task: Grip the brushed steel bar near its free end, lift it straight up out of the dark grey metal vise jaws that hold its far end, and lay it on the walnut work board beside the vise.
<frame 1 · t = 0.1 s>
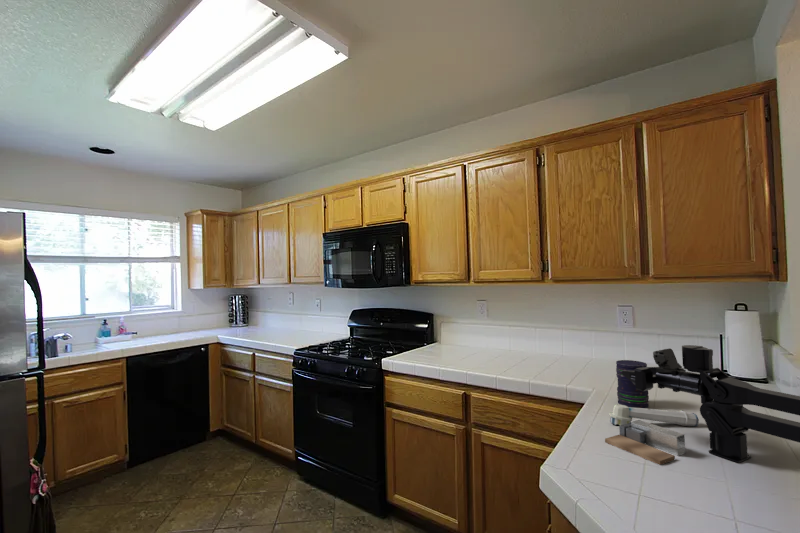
hand: (631, 370, 122), 17 cm above the worktop, tool horizontal, fingers open, 9 cm apart
work board: (638, 450, 103), on the worktop
storage jar: (633, 404, 139), on the worktop
vise: (657, 445, 105), on the worktop
toothbrush head: (652, 426, 120), on the worktop
steel bar: (657, 446, 105), resting in vise
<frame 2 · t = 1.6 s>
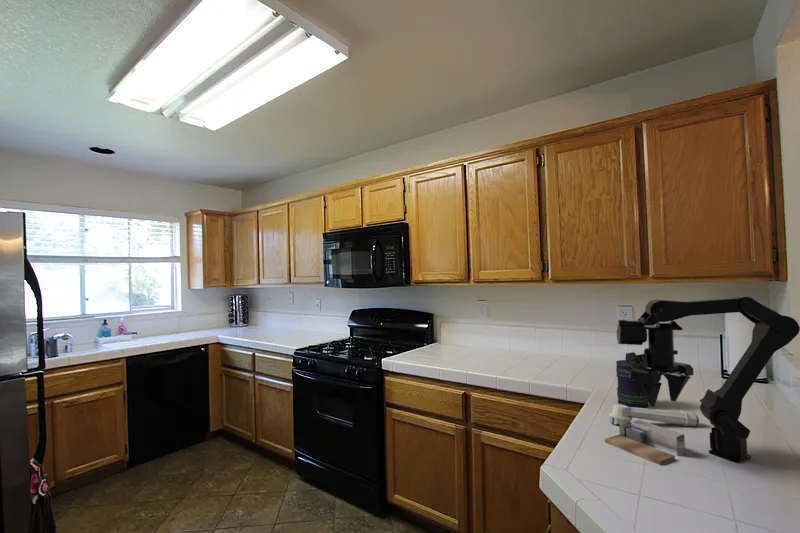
hand: (662, 403, 104), 12 cm above the worktop, tool pointing down, fingers open, 9 cm apart
nothing on the worktop moved.
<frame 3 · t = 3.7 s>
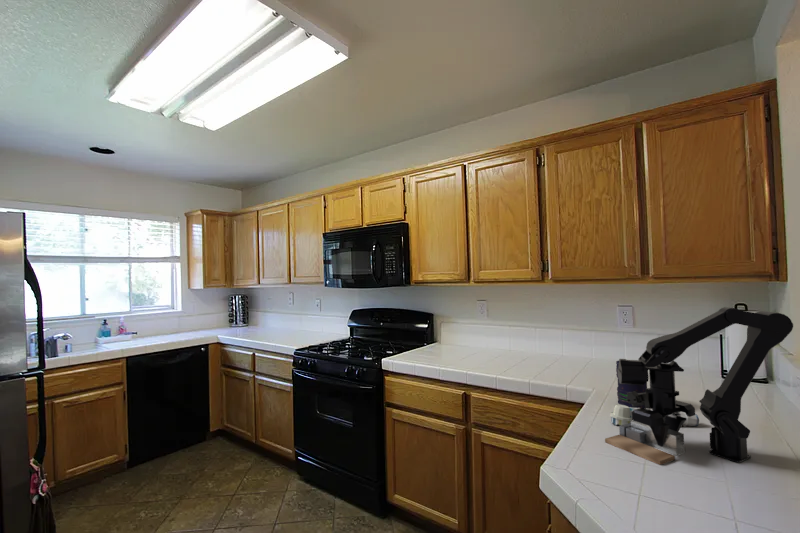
hand: (664, 444, 104), 1 cm above the worktop, tool pointing down, fingers closed on steel bar, 3 cm apart
steel bar: (656, 445, 105), resting in vise, touching gripper
everything else where it was.
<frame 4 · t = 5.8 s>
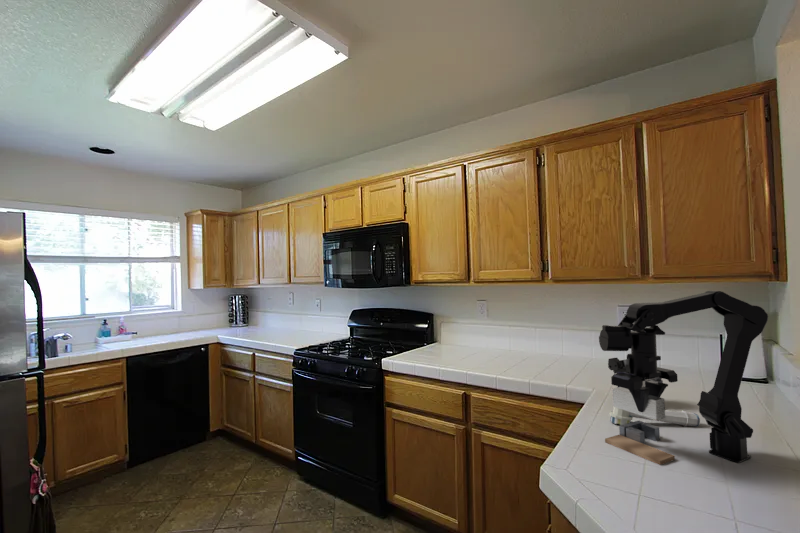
hand: (645, 410, 101), 11 cm above the worktop, tool pointing down, fingers closed on steel bar, 3 cm apart
steel bar: (637, 412, 103), point 10 cm above the worktop, touching gripper
everything else where it was.
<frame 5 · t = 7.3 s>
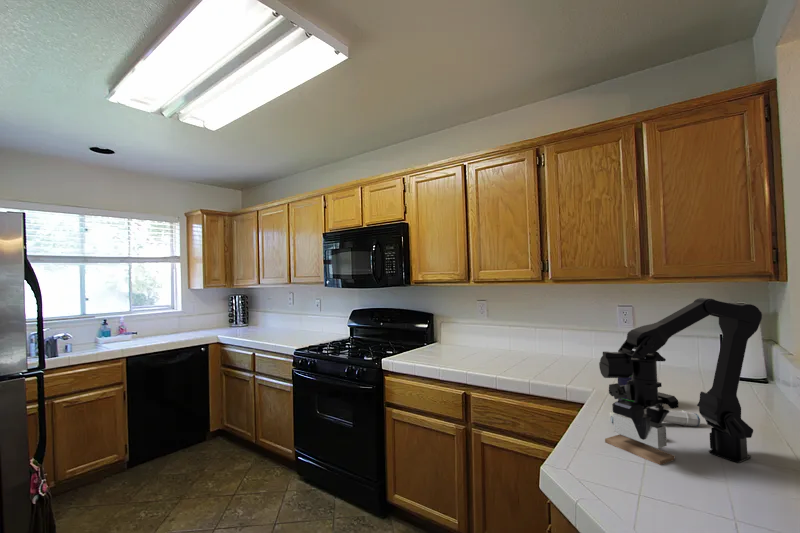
hand: (647, 437, 100), 4 cm above the worktop, tool pointing down, fingers closed on steel bar, 3 cm apart
steel bar: (639, 438, 102), point 3 cm above the worktop, touching gripper
everything else where it was.
when the fingers open (3 cm above the worktop, at t = 8.2 s): steel bar drops 1 cm, resting on work board.
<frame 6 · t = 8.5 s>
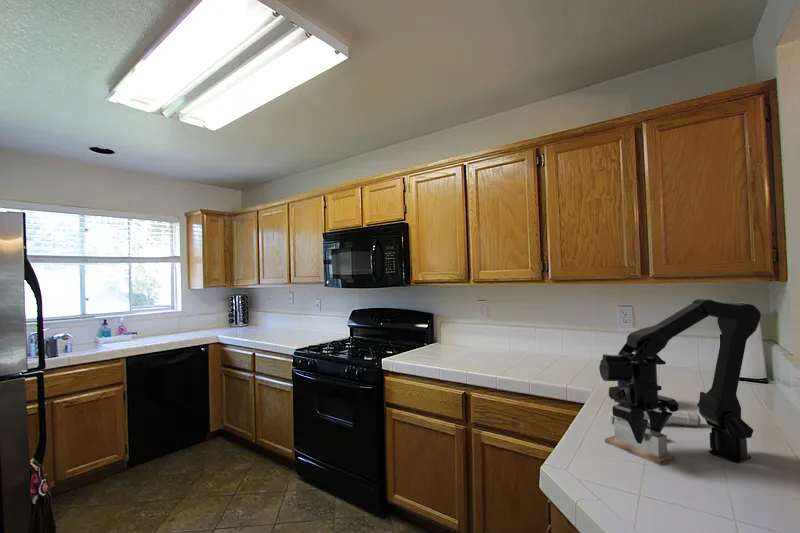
hand: (647, 440, 100), 3 cm above the worktop, tool pointing down, fingers open, 6 cm apart
steel bar: (639, 447, 102), point 1 cm above the worktop, touching work board
everything else where it was.
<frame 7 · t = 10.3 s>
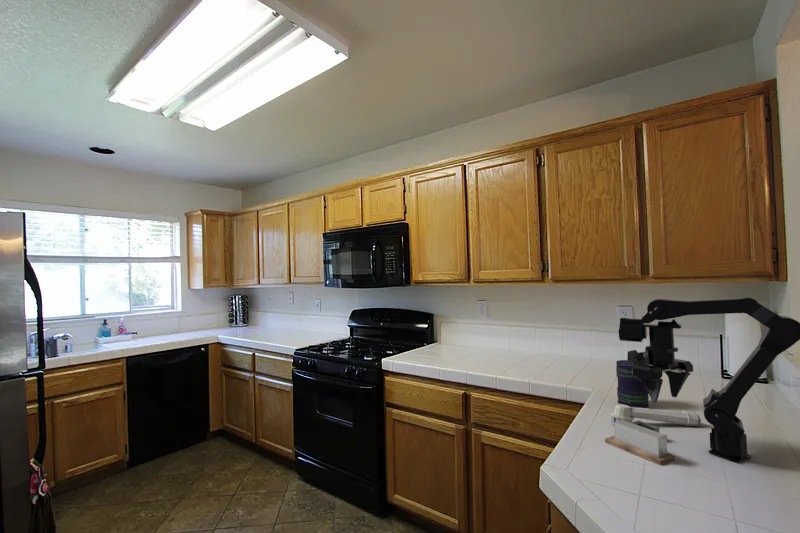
hand: (664, 399, 107), 12 cm above the worktop, tool pointing down, fingers open, 9 cm apart
nothing on the worktop moved.
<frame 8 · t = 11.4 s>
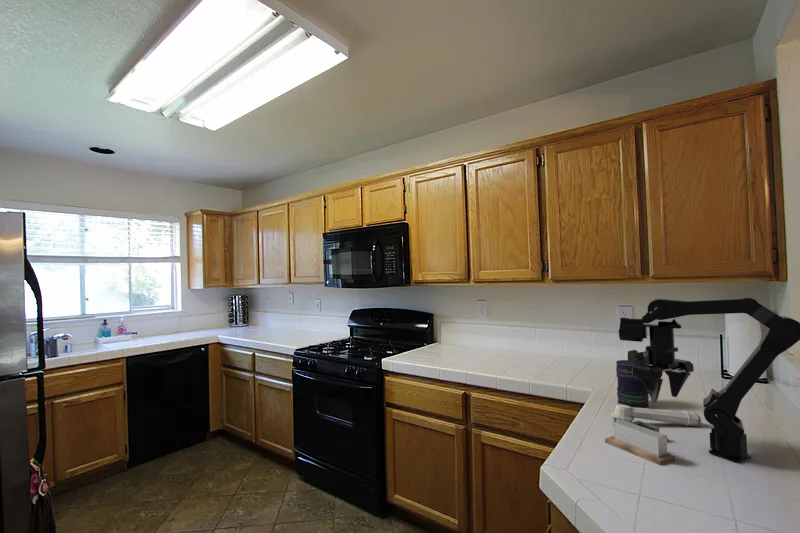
hand: (664, 399, 107), 12 cm above the worktop, tool pointing down, fingers open, 9 cm apart
nothing on the worktop moved.
at the end: steel bar 0.5 cm off-centre on the work board, point 1.0 cm above the work board's base; steel bar touching work board; the gripper is holding nothing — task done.
